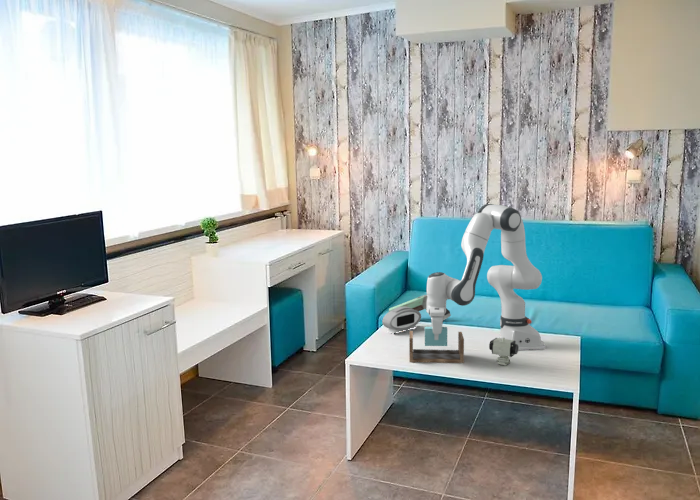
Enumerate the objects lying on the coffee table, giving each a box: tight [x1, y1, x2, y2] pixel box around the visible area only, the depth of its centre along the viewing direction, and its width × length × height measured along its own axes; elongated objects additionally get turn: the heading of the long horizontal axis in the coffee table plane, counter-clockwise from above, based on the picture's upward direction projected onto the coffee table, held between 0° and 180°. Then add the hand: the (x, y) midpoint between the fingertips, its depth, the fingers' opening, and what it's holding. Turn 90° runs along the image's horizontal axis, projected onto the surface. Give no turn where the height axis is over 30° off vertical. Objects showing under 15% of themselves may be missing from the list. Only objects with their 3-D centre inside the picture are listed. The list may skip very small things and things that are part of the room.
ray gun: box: [388, 294, 452, 321], centre depth 339 cm, size 7×32×20 cm, turn 83°
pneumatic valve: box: [488, 337, 519, 367], centre depth 261 cm, size 6×12×12 cm, turn 55°
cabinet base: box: [408, 330, 465, 364], centre depth 271 cm, size 24×12×11 cm, turn 84°
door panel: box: [424, 326, 448, 347], centre depth 270 cm, size 10×4×8 cm, turn 85°
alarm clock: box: [382, 307, 422, 333], centre depth 318 cm, size 23×6×13 cm, turn 129°
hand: (436, 338), depth 271 cm, fingers closed on door panel, 3 cm apart
